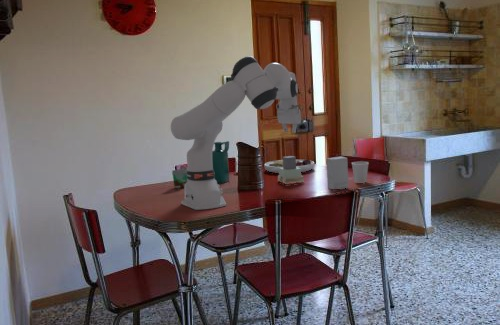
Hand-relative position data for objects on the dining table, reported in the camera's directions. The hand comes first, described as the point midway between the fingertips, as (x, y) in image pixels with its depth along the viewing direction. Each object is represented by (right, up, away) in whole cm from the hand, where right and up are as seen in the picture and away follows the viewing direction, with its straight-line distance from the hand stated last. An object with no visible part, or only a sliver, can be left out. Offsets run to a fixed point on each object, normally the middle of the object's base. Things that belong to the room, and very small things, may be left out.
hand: (289, 132), depth 223 cm
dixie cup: (+35, -26, -5) cm, 43 cm away
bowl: (+4, -21, +42) cm, 47 cm away
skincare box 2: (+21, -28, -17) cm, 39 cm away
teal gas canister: (-36, -26, +17) cm, 48 cm away
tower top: (+1, -22, +3) cm, 23 cm away
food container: (-55, -29, +6) cm, 63 cm away
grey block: (0, -18, +2) cm, 19 cm away
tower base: (+1, -26, +4) cm, 27 cm away
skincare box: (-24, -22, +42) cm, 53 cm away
